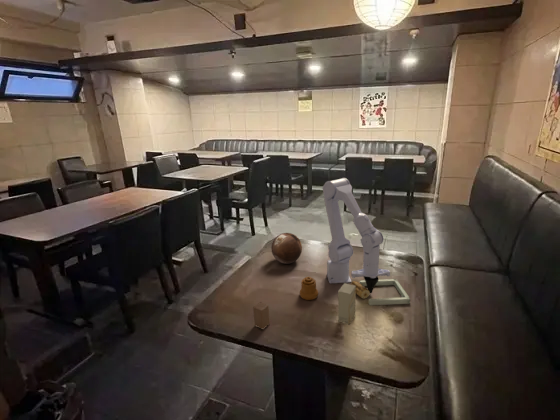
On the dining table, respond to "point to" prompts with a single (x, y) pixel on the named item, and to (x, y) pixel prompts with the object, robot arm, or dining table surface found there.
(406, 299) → the pale grey flat frame
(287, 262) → the wooden sphere
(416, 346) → the dining table surface
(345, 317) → the skincare box
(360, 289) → the carved stone cylinder
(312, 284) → the ornamental finial
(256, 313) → the wooden block
